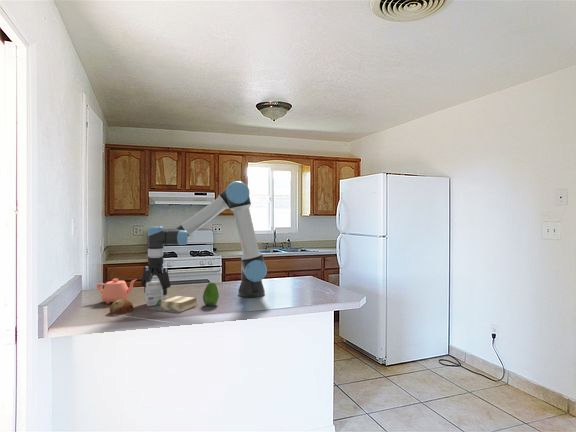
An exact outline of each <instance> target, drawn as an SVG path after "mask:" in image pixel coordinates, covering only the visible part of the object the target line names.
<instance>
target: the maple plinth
mask: <svg viewBox="0 0 576 432" xmlns="http://www.w3.org/2000/svg"><path fill="white" fill-rule="evenodd" d="M196 305H197V297H192V296H191V297H190V296H182V295H175V296H172V297H168V298H166V299H165V300H162V301H161V309H164V310H172V311H180V312H179V313H181V311H182V312H185V311H187V310H190V309H191V308H195V307H196ZM194 306H195V307H194Z"/></svg>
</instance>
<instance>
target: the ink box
mask: <svg viewBox="0 0 576 432" xmlns="http://www.w3.org/2000/svg"><path fill="white" fill-rule="evenodd" d="M161 289H162V285H161V283H160V281H159V280H155V281H154V280H153V281H152V280H151V282H146V293H147V300H146V306H147V307H152V306H158V305H161Z"/></svg>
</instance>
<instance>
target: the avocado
mask: <svg viewBox="0 0 576 432" xmlns="http://www.w3.org/2000/svg"><path fill="white" fill-rule="evenodd" d="M219 295H220V293H219V290H218V286H217V284H216V282H208V283H207V285H206V287H205V289H204V291H203V295H202V301H203V303H204V304H205V306H207V307H213V306H215V305H217V304H218V301H219V298H220V297H219Z"/></svg>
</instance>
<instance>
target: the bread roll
mask: <svg viewBox="0 0 576 432" xmlns="http://www.w3.org/2000/svg"><path fill="white" fill-rule="evenodd" d="M134 307H135V305H133V303H132V302H131V301H130V300H127V299H126V300H124V299H119V300H116V301H115V302H111V305H110V307H109V313H110V314H111V315H114V314H118V315H119V314H121V315H122V314H128V313H131V312H132V311H134V310H135V308H134Z"/></svg>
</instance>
